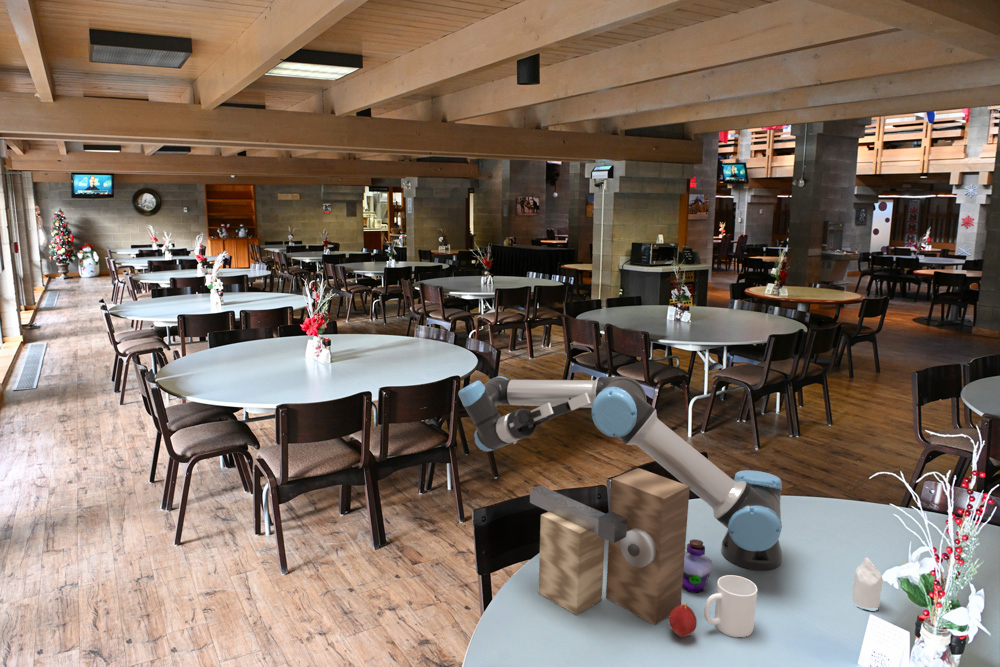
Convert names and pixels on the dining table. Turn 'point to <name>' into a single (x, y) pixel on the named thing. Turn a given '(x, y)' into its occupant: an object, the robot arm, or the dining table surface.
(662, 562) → the post
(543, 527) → the oak block
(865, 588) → the beige pointed piece
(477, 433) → the robot arm
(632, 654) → the dining table surface
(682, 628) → the onion
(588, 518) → the grey long bar
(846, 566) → the dining table surface
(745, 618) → the cup
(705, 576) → the potion bottle
